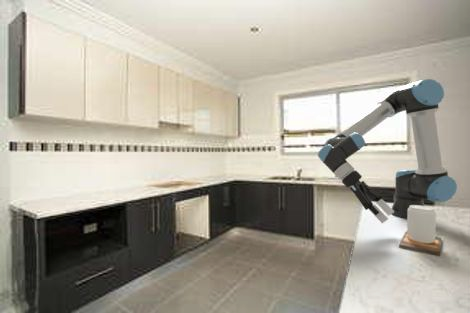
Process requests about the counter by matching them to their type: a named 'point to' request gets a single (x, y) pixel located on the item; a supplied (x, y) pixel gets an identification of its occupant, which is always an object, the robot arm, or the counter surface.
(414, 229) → the beverage can
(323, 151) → the robot arm
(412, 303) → the counter surface
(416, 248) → the label board
